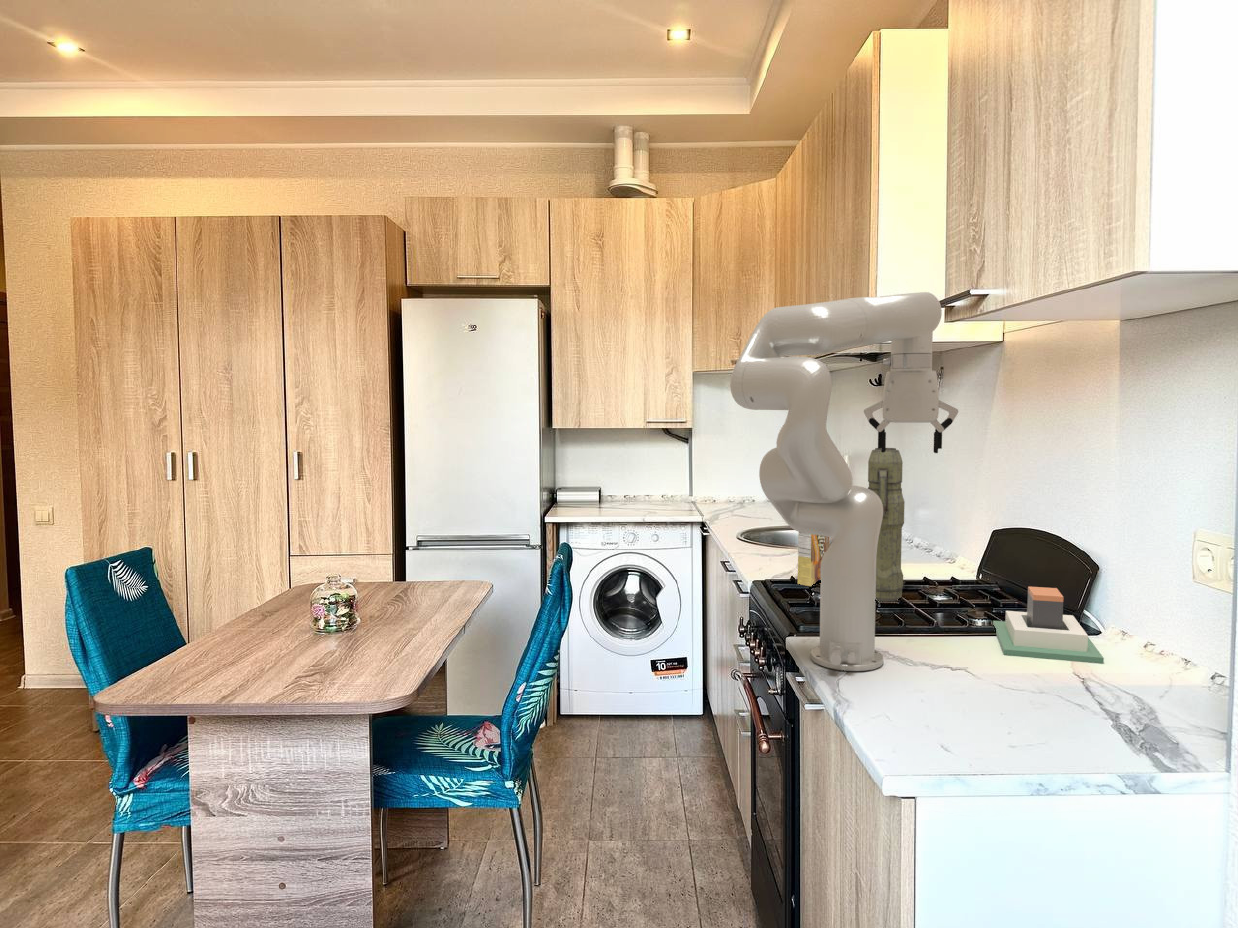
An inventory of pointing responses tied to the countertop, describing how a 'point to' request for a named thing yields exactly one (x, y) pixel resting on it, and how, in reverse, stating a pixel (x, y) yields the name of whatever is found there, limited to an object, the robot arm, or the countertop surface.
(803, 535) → the candy box
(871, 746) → the countertop surface
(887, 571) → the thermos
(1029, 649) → the board
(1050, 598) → the plug
